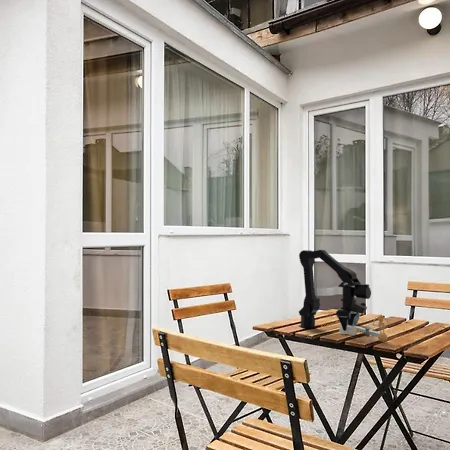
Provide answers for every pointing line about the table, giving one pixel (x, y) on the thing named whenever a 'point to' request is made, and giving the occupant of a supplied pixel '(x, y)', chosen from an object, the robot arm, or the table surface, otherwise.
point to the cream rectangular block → (348, 330)
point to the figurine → (382, 336)
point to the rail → (367, 331)
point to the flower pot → (355, 320)
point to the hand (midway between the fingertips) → (347, 329)
